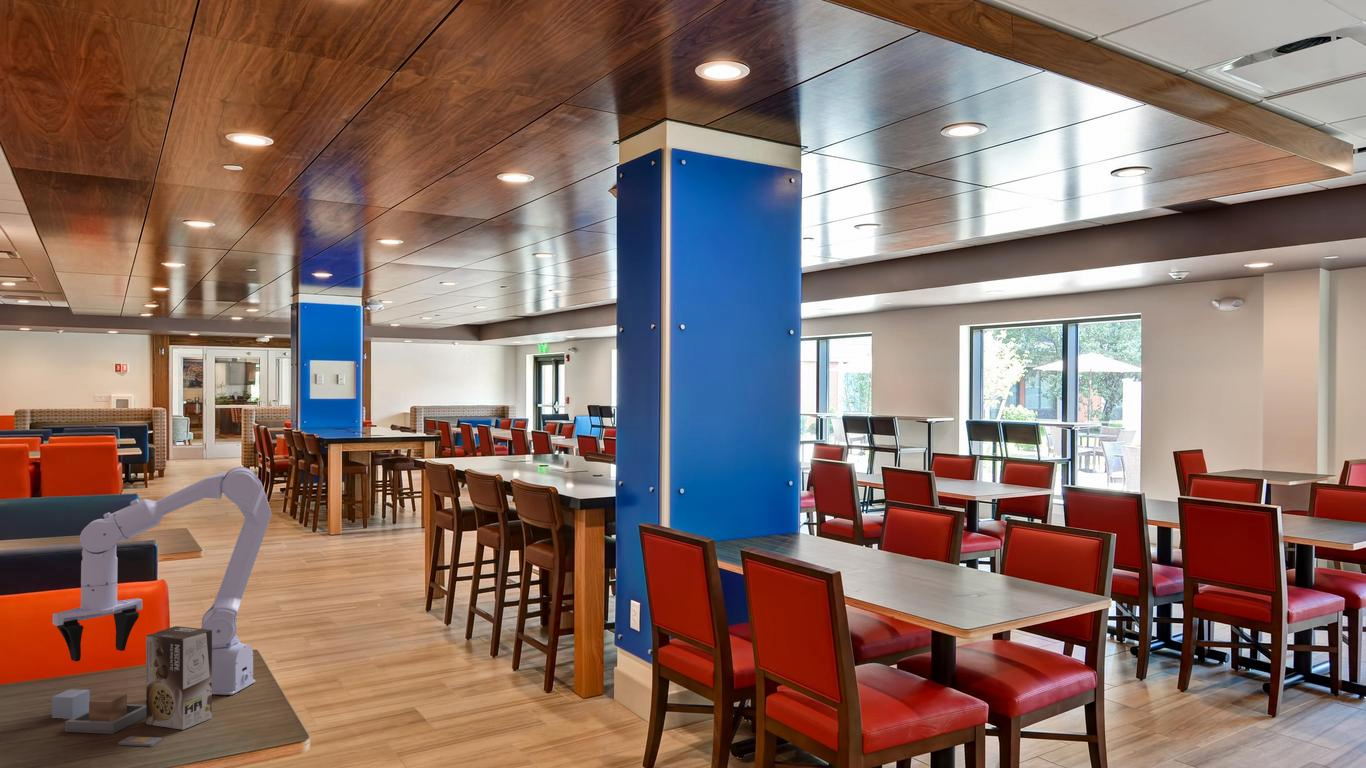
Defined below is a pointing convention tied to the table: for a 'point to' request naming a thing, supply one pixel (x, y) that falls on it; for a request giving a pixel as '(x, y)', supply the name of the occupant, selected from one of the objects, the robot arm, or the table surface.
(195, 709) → the coffee box
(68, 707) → the slate block
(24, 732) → the table surface
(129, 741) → the label tile
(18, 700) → the table surface
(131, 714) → the parts tray
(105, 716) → the walnut block
